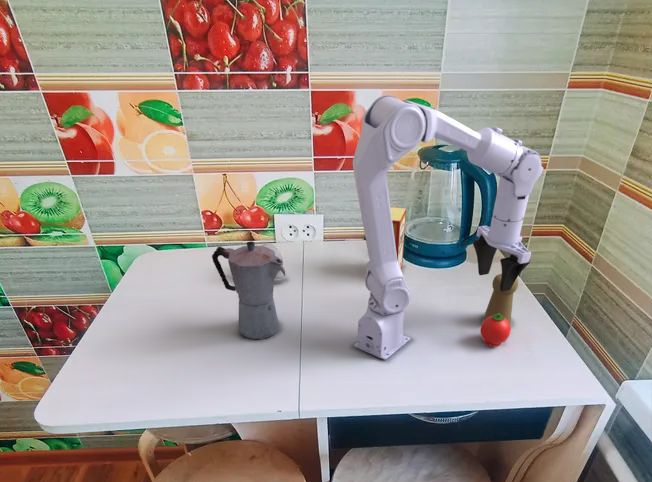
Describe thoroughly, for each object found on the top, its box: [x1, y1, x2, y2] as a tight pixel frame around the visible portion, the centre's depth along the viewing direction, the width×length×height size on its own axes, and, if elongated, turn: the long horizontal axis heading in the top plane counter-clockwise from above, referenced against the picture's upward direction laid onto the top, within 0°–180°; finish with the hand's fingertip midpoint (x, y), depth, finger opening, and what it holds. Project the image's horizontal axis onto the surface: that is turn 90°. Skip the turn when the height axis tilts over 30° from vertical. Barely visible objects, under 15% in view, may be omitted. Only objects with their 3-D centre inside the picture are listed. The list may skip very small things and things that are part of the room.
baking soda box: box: [390, 206, 407, 270], centre depth 118 cm, size 10×6×16 cm
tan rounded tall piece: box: [482, 273, 519, 325], centre depth 100 cm, size 6×6×11 cm
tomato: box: [479, 313, 512, 348], centre depth 95 cm, size 6×6×7 cm
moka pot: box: [211, 241, 284, 340], centre depth 95 cm, size 10×15×20 cm, turn 78°
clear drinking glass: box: [260, 242, 287, 285], centre depth 118 cm, size 11×8×8 cm
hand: (494, 281), depth 96 cm, fingers open, 7 cm apart
